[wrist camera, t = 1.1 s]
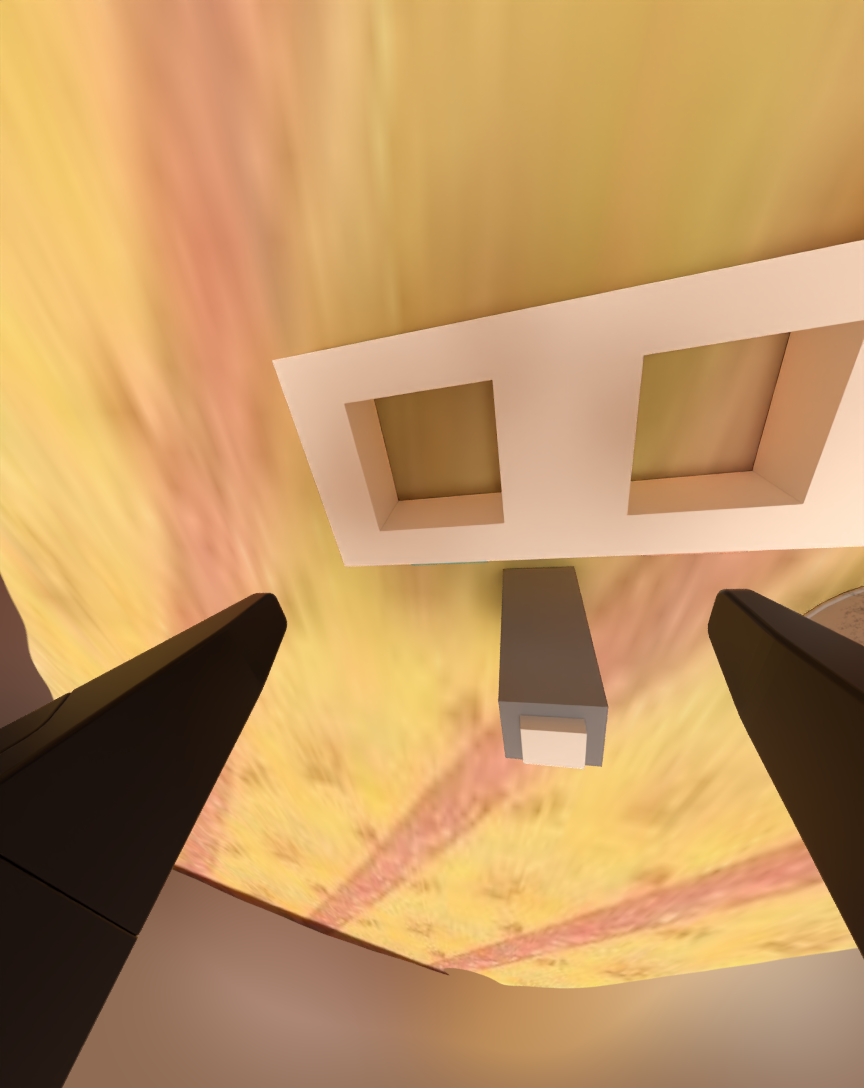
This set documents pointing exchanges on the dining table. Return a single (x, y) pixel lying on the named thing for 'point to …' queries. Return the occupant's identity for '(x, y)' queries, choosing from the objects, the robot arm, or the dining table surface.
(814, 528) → the socket strip
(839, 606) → the stone cylinder
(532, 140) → the dining table surface
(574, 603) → the plug
